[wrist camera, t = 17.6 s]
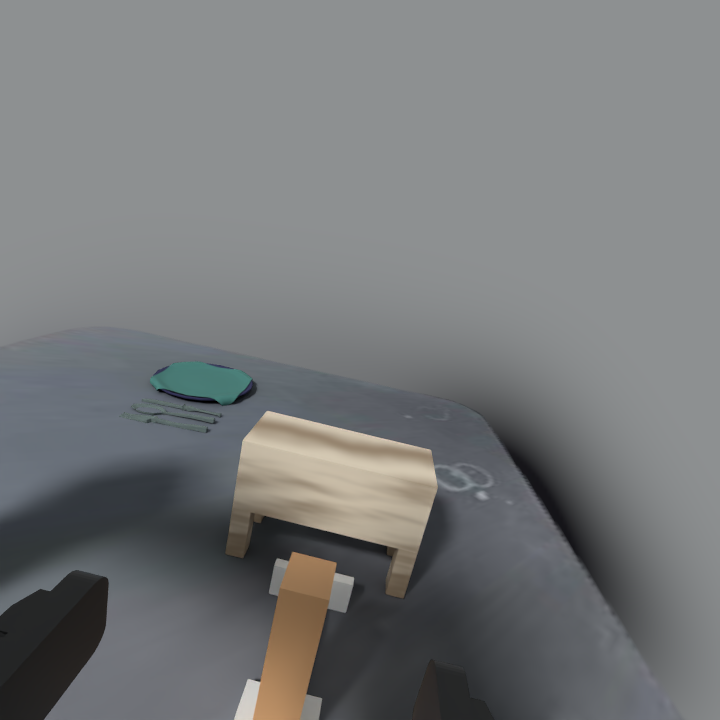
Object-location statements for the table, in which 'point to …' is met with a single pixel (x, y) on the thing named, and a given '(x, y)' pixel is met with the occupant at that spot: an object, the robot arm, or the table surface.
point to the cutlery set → (194, 390)
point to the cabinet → (335, 488)
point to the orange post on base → (295, 638)
